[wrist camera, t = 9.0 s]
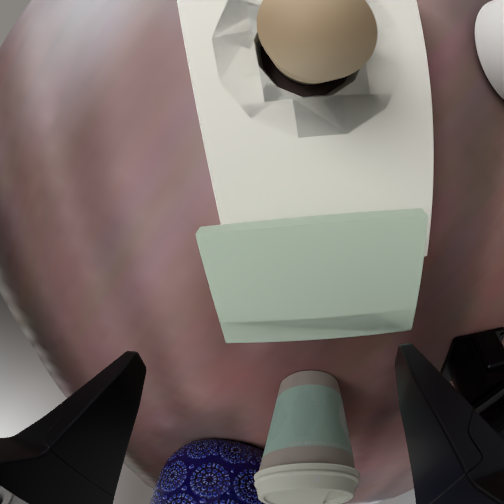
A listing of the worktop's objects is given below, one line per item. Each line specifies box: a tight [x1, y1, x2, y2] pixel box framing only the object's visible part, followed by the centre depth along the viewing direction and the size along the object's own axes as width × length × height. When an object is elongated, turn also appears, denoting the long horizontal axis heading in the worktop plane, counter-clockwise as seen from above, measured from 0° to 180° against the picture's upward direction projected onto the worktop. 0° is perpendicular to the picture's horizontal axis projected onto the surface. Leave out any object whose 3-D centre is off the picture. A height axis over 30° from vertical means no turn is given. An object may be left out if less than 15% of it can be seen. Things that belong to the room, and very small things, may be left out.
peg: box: [256, 0, 378, 85], centre depth 11 cm, size 4×4×8 cm
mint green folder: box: [196, 208, 428, 343], centre depth 17 cm, size 6×10×7 cm, turn 99°
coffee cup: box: [254, 370, 360, 504], centre depth 23 cm, size 8×8×12 cm
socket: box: [177, 0, 434, 256], centre depth 15 cm, size 17×12×3 cm
